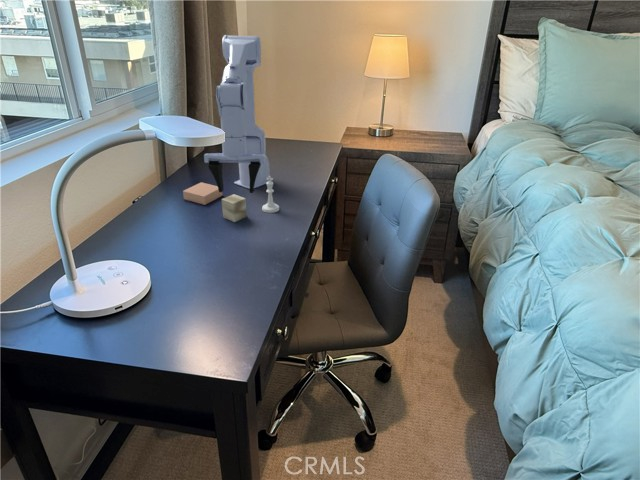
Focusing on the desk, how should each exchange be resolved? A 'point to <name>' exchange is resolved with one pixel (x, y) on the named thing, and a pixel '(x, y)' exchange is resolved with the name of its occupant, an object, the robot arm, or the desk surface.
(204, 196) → the block
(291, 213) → the desk surface
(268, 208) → the chess piece
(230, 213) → the metal block
